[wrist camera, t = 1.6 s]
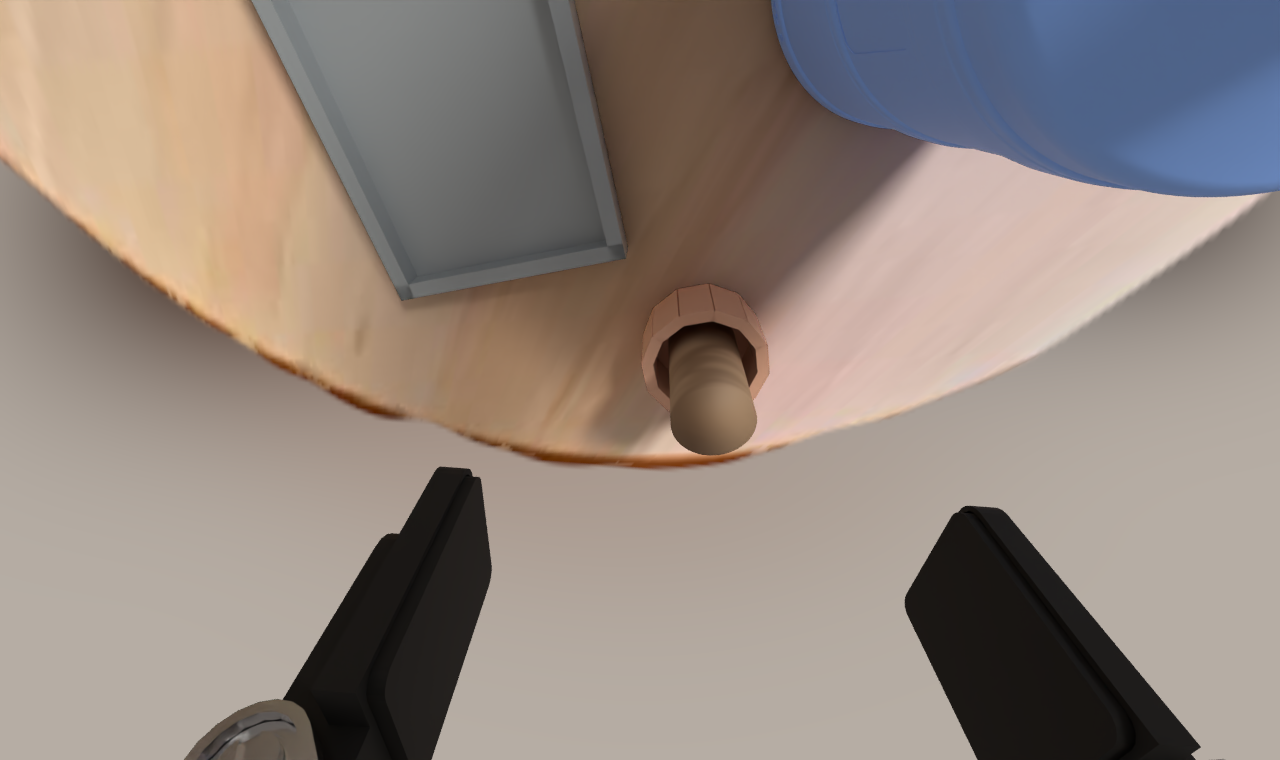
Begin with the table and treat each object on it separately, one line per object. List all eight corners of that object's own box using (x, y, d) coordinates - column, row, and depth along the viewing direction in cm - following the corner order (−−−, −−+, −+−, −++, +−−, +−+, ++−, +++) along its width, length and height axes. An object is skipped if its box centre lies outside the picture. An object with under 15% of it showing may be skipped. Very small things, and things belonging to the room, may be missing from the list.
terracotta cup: (753, 275, 34) (764, 301, 30) (761, 376, 39) (772, 409, 35) (634, 296, 35) (631, 323, 32) (655, 391, 40) (655, 425, 36)
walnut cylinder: (731, 306, 35) (753, 381, 27) (737, 364, 38) (759, 449, 29) (663, 317, 36) (663, 394, 27) (674, 374, 38) (677, 459, 30)
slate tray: (539, -162, 23) (526, -185, 21) (628, 246, 33) (625, 258, 31) (248, -69, 25) (210, -82, 23) (416, 286, 36) (401, 300, 34)
